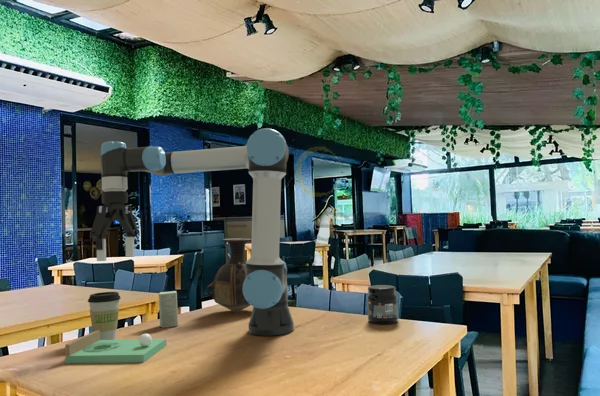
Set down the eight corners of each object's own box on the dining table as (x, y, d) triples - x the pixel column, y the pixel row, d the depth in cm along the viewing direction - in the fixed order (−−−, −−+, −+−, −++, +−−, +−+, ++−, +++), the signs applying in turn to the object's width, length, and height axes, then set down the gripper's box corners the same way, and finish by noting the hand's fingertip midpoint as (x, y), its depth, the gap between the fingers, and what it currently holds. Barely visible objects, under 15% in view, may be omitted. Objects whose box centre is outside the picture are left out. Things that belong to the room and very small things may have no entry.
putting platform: (166, 345, 136) (165, 328, 137) (143, 362, 120) (143, 343, 121) (96, 346, 138) (96, 330, 138) (65, 363, 122) (65, 344, 122)
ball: (154, 344, 130) (153, 332, 130) (148, 348, 127) (148, 335, 127) (142, 344, 131) (141, 332, 131) (136, 348, 127) (136, 335, 127)
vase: (202, 317, 174) (200, 240, 176) (219, 308, 194) (217, 238, 195) (259, 317, 171) (257, 238, 172) (271, 307, 190) (268, 236, 191)
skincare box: (178, 323, 166) (177, 290, 166) (177, 326, 161) (176, 292, 162) (160, 325, 164) (159, 291, 165) (159, 328, 160) (158, 293, 161)
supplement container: (376, 317, 164) (374, 284, 165) (403, 319, 158) (401, 285, 159) (362, 323, 156) (361, 288, 156) (390, 326, 150) (388, 290, 150)
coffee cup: (109, 345, 139) (108, 296, 140) (81, 344, 141) (80, 296, 142) (127, 336, 149) (126, 291, 150) (101, 336, 151) (100, 291, 152)
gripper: (129, 193, 154) (130, 255, 153) (75, 189, 130) (77, 263, 129) (148, 192, 152) (150, 255, 151) (97, 188, 128) (99, 262, 127)
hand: (116, 258), depth 140 cm, fingers open, 13 cm apart
